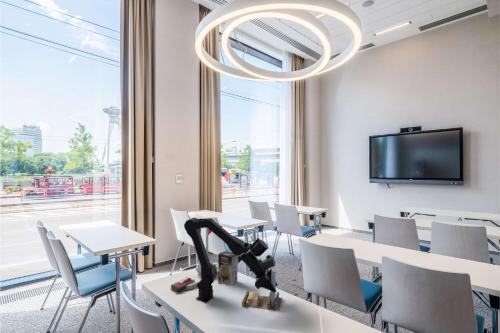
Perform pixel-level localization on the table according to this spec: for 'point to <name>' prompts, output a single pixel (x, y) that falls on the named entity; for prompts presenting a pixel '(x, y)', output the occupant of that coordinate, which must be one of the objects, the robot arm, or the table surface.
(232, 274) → the coffee box
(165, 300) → the table surface
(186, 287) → the walkie-talkie
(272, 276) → the board
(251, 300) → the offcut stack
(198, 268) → the flag stand
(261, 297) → the rack
